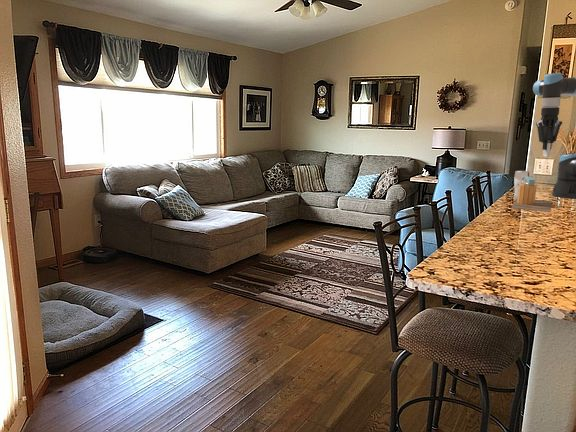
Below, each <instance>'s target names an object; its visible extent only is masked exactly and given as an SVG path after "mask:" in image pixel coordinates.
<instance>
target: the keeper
mask: <svg viewBox="0 0 576 432" xmlns="http://www.w3.org/2000/svg"><path fill="white" fill-rule="evenodd" d="M525 182H527V183H528V184H529V185H536V183H535V182H536V180H535V178H534V177H533V176H530V175H529V176H526V181H525Z"/></svg>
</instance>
